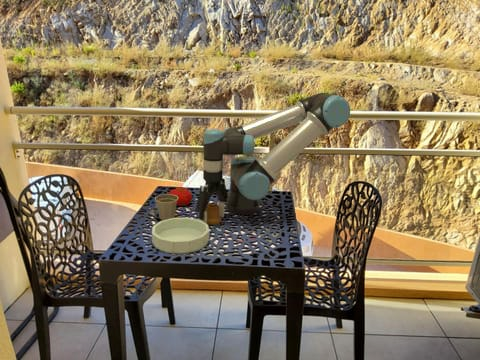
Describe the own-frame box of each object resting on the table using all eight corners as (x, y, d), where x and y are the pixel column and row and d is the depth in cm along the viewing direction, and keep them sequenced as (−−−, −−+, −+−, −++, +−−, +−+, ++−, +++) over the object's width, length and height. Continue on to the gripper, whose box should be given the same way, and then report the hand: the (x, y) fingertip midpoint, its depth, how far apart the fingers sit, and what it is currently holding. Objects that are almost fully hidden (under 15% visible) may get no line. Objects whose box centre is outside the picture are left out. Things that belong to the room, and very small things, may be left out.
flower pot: (173, 223, 153) (173, 203, 151) (151, 220, 155) (150, 200, 152) (181, 214, 162) (181, 195, 159) (160, 212, 164) (160, 193, 161)
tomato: (175, 209, 168) (175, 195, 166) (165, 201, 176) (165, 187, 174) (195, 205, 173) (195, 191, 171) (185, 197, 181) (185, 184, 179)
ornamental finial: (220, 226, 152) (202, 225, 152) (221, 218, 160) (203, 218, 160) (221, 207, 150) (202, 206, 150) (222, 200, 157) (203, 200, 157)
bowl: (205, 227, 151) (206, 216, 149) (211, 251, 132) (211, 240, 131) (153, 229, 147) (153, 218, 146) (151, 255, 129) (150, 242, 127)
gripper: (222, 161, 161) (221, 210, 168) (185, 175, 141) (186, 229, 148) (237, 164, 157) (235, 213, 164) (202, 179, 138) (202, 234, 144)
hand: (212, 221), depth 156 cm, fingers open, 12 cm apart
